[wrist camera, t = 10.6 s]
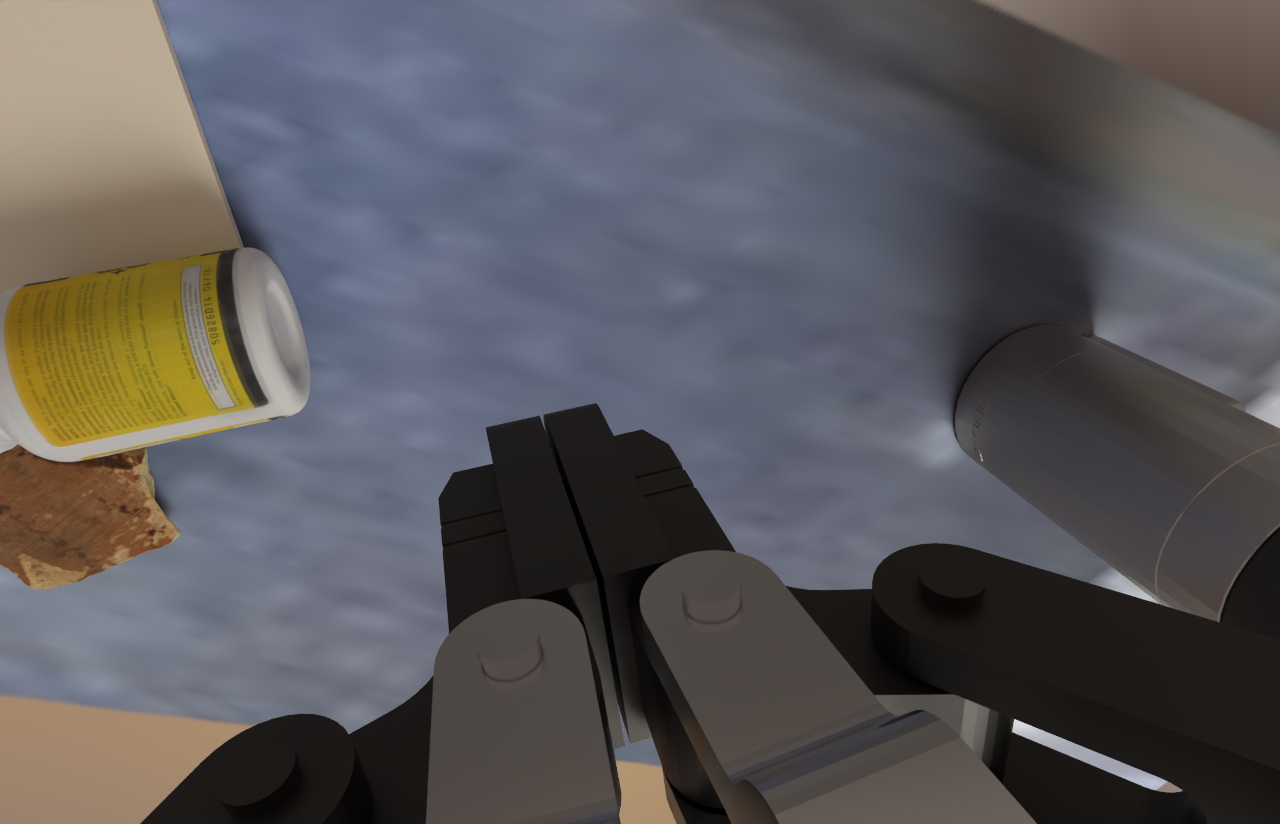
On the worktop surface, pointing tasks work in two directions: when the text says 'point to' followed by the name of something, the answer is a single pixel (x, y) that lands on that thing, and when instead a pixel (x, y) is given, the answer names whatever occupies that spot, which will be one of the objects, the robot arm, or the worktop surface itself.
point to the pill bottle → (149, 355)
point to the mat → (99, 144)
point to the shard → (76, 515)
